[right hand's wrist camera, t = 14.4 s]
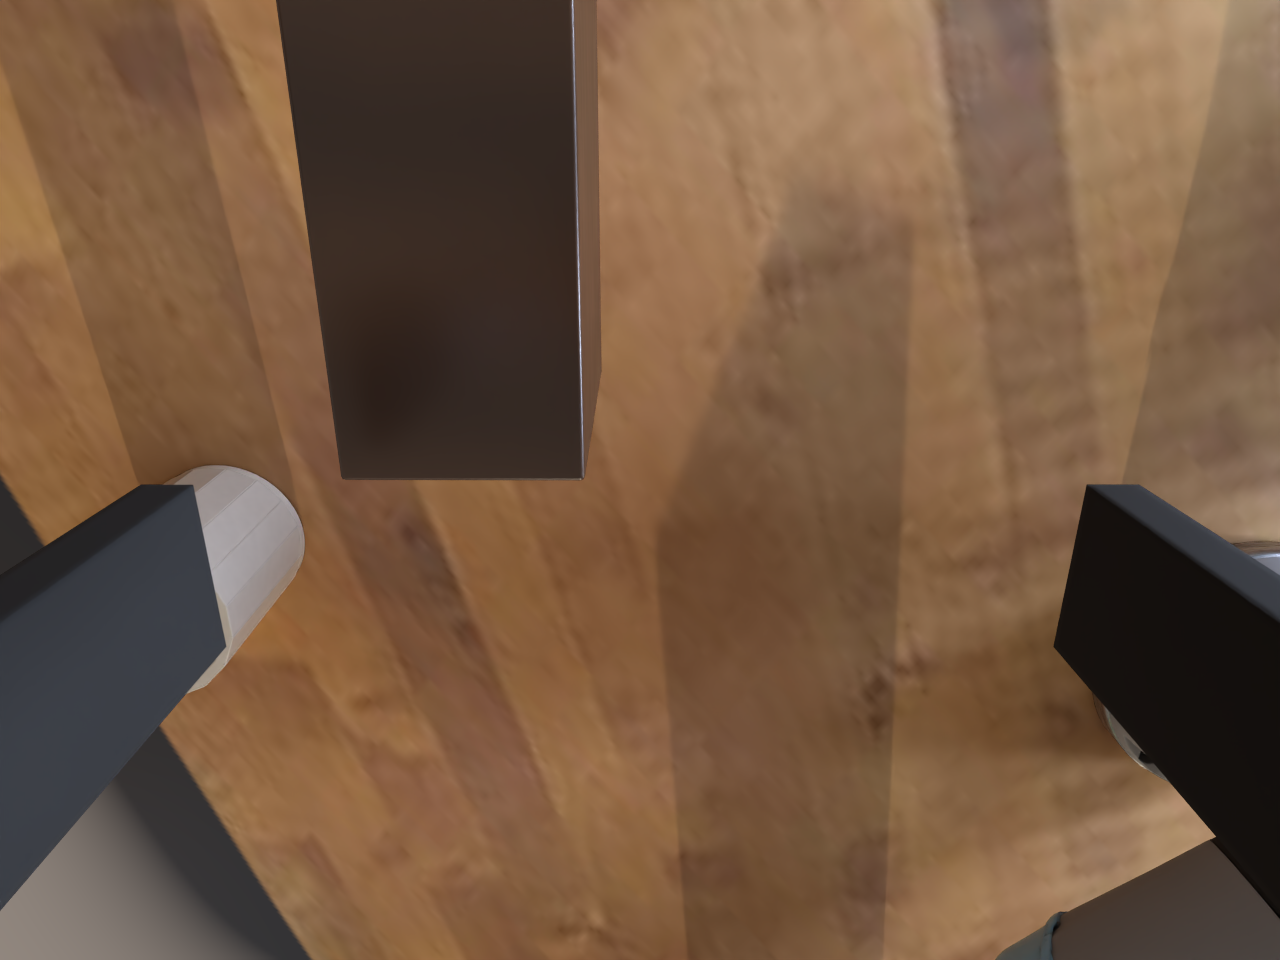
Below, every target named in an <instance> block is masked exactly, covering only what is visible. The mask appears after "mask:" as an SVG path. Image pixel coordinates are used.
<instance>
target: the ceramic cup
mask: <svg viewBox="0 0 1280 960" xmlns="http://www.w3.org/2000/svg"><path fill="white" fill-rule="evenodd" d="M163 485H193V486H194V491H195V496H196V501H197V506H198V510H199V515H200V520H201V525H202V530H203V535H204V540H205V544H206V549H207V554H208V559H209V564H210V569H211V574H212V579H213V583H214V588H215V593H216V598H217V603H218V608H219V613H220V618H221V622H222V627H223V632H224V637H225V642H226V648H225V649H224V650H223V651H222V652H221V654H220V655H219V656H218V657H217V658H216V659H215V661H214V662H213V663H212V664H211V665H210V666H209V668H208V669H207V670H206V671H205V672H204V673H203V675H202V676H201V677H200V678H199V679H198V680H197V682H196V683H195V684H194V685H193V686H192V687H191V689H190V690H189V691H188V692H187V693H189V692H192V691H195V690H197V689H200V688H203V687H205V686H206V685H207V684H208V683H209V682H210V681H211V680H212V679H213V678H214V677H215V676H216V675H217V674H218V673H219V672H220V671H221V670H222V669H223V668H224V667H225V666H226V664H227V663H228V662H229V661H230V659H231V658H232V657H233V655H234V654H235V653H236V652H237V650H238V649H239V648H240V647H241V645H242V644H243V643H244V641H245V640H246V639H247V638H248V636H249V635H250V634H251V633H252V631H253V630H254V629H255V627H256V626H257V625H258V624H259V622H260V621H261V620H262V619H263V617H264V616H265V615H266V613H267V612H268V611H269V610H270V608H271V607H272V606H273V604H274V603H275V602H276V601H277V599H278V598H279V597H280V596H281V594H282V593H283V592H284V590H285V589H286V588H287V587H288V585H289V584H290V583H291V582H292V580H293V579H294V577H295V576H296V573H297V571H298V570H299V568H300V566H301V563H302V560H303V556H304V551H305V538H304V532H303V527H302V524H301V521H300V519H299V516H298V514H297V513H296V511H295V509H294V507H293V506H292V504H291V503H290V502H289V500H288V499H287V498H286V497H285V496H284V495H283V493H282V492H280V491H279V490H278V489H277V488H276V487H275V486H274V485H272V484H271V483H269V482H268V481H267V480H265V479H263V478H261V477H260V476H258V475H256V474H254V473H251V472H249V471H246V470H243V469H240V468H236V467H231V466H223V465H209V466H201V467H196V468H193V469H190V470H187V471H185V472H183V473H181V474H179V475H178V476H176V477H175V478H172V479H170V480H168V481H167V482H165V483H164V484H163ZM187 693H186V694H187Z"/></svg>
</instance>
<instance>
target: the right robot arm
mask: <svg viewBox="0 0 1280 960" xmlns="http://www.w3.org/2000/svg"><path fill="white" fill-rule="evenodd" d="M225 648H226V642H225V637H224V632H223V627H222V622H221V618H220V613H219V608H218V603H217V598H216V593H215V588H214V583H213V579H212V574H211V569H210V564H209V559H208V554H207V549H206V544H205V540H204V535H203V530H202V525H201V520H200V515H199V510H198V506H197V501H196V496H195V491H194V486H193V485H140V486H138V487H137V488H135V489H133V490H132V491H130V492H129V493H127V494H126V495H124V496H123V497H121V498H119V499H118V500H116V501H115V502H113V503H112V504H110V505H109V506H107V507H105V508H104V509H102V510H101V511H99V512H98V513H96V514H95V515H93V516H91V517H90V518H88V519H87V520H85V521H84V522H82V523H81V524H79V525H77V526H76V527H74V528H73V529H71V530H70V531H68V532H67V533H65V534H63V535H62V536H60V537H59V538H57V539H56V540H54V541H53V542H51V543H49V544H48V545H46V546H45V547H43V548H42V549H40V550H39V551H37V552H35V553H34V554H32V555H31V556H29V557H28V558H26V559H25V560H23V561H22V562H20V563H18V564H17V565H15V566H14V567H12V568H11V569H9V570H7V571H6V572H4V573H3V574H1V575H0V910H1V909H2V908H3V907H4V906H5V904H6V903H7V902H8V901H9V900H10V899H11V898H12V896H13V895H14V894H15V893H16V892H17V891H18V889H19V888H20V887H21V886H22V885H23V883H24V882H25V881H26V880H27V879H28V878H29V876H30V875H31V874H32V873H33V872H34V871H35V869H36V868H37V867H38V866H39V865H40V864H41V862H42V861H43V860H44V859H45V858H46V857H47V855H48V854H49V853H50V852H51V851H52V850H53V849H54V847H55V846H56V845H57V844H58V843H59V841H60V840H61V839H62V838H63V837H64V836H65V835H66V833H67V832H68V831H69V830H70V829H71V827H72V826H73V825H74V824H75V823H76V822H77V821H78V819H79V818H80V817H81V816H82V815H83V813H84V812H85V811H86V810H87V809H88V808H89V807H90V805H91V804H92V803H93V802H94V801H95V800H96V798H97V797H98V796H99V795H100V794H101V793H102V791H103V790H104V789H105V788H106V787H107V785H108V784H109V783H110V782H111V781H112V780H113V778H114V777H115V776H116V775H117V774H118V773H119V771H120V770H121V769H122V768H123V767H124V766H125V764H126V763H127V762H128V761H129V760H130V759H131V757H132V756H133V755H134V754H135V753H136V752H137V750H138V749H139V748H140V747H141V746H142V745H143V743H144V742H145V741H146V740H147V739H148V738H149V736H150V735H151V734H152V733H153V732H154V731H155V729H156V728H157V727H158V726H159V725H160V724H161V722H162V721H163V720H164V719H165V718H166V717H167V715H168V714H169V713H170V712H171V711H172V710H173V708H174V707H175V706H176V705H177V704H178V703H179V701H180V700H181V699H182V698H183V697H184V696H185V694H186V693H187V692H188V691H189V690H190V689H191V687H192V686H193V685H194V684H195V683H196V682H197V680H198V679H199V678H200V677H201V676H202V675H203V673H204V672H205V671H206V670H207V669H208V668H209V666H210V665H211V664H212V663H213V662H214V661H215V659H216V658H217V657H218V656H219V655H220V654H221V652H222V651H223V650H224V649H225ZM1054 648H1055V649H1056V650H1057V651H1058V652H1059V654H1060V655H1061V656H1062V657H1063V658H1064V659H1065V661H1066V662H1067V663H1068V664H1069V665H1070V666H1071V668H1072V669H1073V670H1074V671H1075V672H1076V673H1077V675H1078V676H1079V677H1080V678H1081V679H1082V680H1083V682H1084V683H1085V684H1086V685H1087V686H1088V687H1089V689H1090V690H1091V691H1092V694H1093V699H1094V704H1095V707H1096V710H1097V713H1098V715H1099V717H1100V719H1101V721H1102V723H1103V724H1104V726H1105V727H1106V729H1107V730H1108V731H1109V732H1110V734H1111V735H1112V736H1113V737H1114V738H1115V740H1116V741H1117V742H1118V743H1119V745H1120V746H1121V747H1122V748H1123V749H1124V750H1125V752H1126V753H1127V754H1128V755H1129V756H1130V757H1131V758H1132V759H1133V760H1134V761H1135V762H1137V763H1138V764H1139V765H1141V766H1142V767H1144V768H1145V769H1147V770H1149V771H1150V772H1152V773H1154V774H1155V775H1157V776H1159V777H1160V778H1162V779H1164V780H1166V781H1168V782H1169V783H1171V784H1172V785H1173V787H1174V788H1175V789H1176V790H1177V791H1178V793H1179V794H1180V795H1181V796H1182V797H1183V798H1184V800H1185V801H1186V802H1187V803H1188V804H1189V805H1190V807H1191V808H1192V809H1193V810H1194V811H1195V812H1196V814H1197V815H1198V816H1199V817H1200V818H1201V819H1202V821H1203V822H1204V823H1205V824H1206V825H1207V826H1208V828H1209V829H1210V830H1211V831H1212V832H1213V833H1214V835H1215V836H1216V837H1215V838H1213V839H1210V840H1208V841H1206V842H1204V843H1202V844H1200V845H1198V846H1196V847H1194V848H1192V849H1191V850H1189V851H1187V852H1185V853H1183V854H1181V855H1179V856H1177V857H1175V858H1173V859H1171V860H1170V861H1168V862H1166V863H1164V864H1162V865H1160V866H1158V867H1156V868H1154V869H1152V870H1150V871H1148V872H1146V873H1144V874H1142V875H1140V876H1138V877H1136V878H1134V879H1132V880H1130V881H1128V882H1126V883H1124V884H1122V885H1120V886H1118V887H1116V888H1114V889H1112V890H1110V891H1108V892H1106V893H1104V894H1103V895H1101V896H1099V897H1097V898H1095V899H1093V900H1091V901H1089V902H1087V903H1085V904H1083V905H1081V906H1079V907H1077V908H1075V909H1073V910H1071V911H1069V912H1058V913H1056V914H1054V915H1053V916H1052V917H1051V918H1050V919H1049V920H1048V921H1047V923H1046V925H1045V926H1043V927H1042V928H1040V929H1039V930H1037V931H1035V932H1034V933H1032V934H1030V935H1029V936H1027V937H1025V938H1024V939H1022V940H1020V941H1018V942H1017V943H1015V944H1013V945H1012V946H1010V947H1008V948H1007V949H1005V950H1004V951H1003V952H1002V953H1001V954H1000V955H999V956H998V957H997V958H996V959H995V960H1280V542H1266V541H1258V542H1244V543H1237V544H1231V543H1229V542H1227V541H1226V540H1224V539H1223V538H1221V537H1220V536H1218V535H1217V534H1215V533H1213V532H1212V531H1210V530H1209V529H1207V528H1206V527H1204V526H1203V525H1201V524H1199V523H1198V522H1196V521H1195V520H1193V519H1192V518H1190V517H1189V516H1187V515H1185V514H1184V513H1182V512H1181V511H1179V510H1178V509H1176V508H1175V507H1173V506H1171V505H1170V504H1168V503H1167V502H1165V501H1164V500H1162V499H1161V498H1159V497H1157V496H1156V495H1154V494H1153V493H1151V492H1150V491H1148V490H1147V489H1145V488H1143V487H1142V486H1140V485H1087V486H1086V491H1085V496H1084V501H1083V506H1082V510H1081V515H1080V520H1079V525H1078V530H1077V535H1076V540H1075V544H1074V549H1073V554H1072V559H1071V564H1070V569H1069V574H1068V579H1067V583H1066V588H1065V593H1064V598H1063V603H1062V608H1061V613H1060V618H1059V622H1058V627H1057V632H1056V637H1055V642H1054Z"/></svg>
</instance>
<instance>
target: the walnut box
mask: <svg viewBox="0 0 1280 960" xmlns="http://www.w3.org/2000/svg"><path fill="white" fill-rule="evenodd" d="M276 3H277V11H278V18H279V25H280V33H281V40H282V47H283V55H284V62H285V69H286V76H287V84H288V91H289V98H290V106H291V113H292V120H293V127H294V135H295V142H296V149H297V157H298V164H299V171H300V178H301V186H302V193H303V200H304V208H305V215H306V222H307V229H308V237H309V244H310V251H311V259H312V266H313V273H314V280H315V288H316V295H317V302H318V310H319V317H320V324H321V331H322V339H323V346H324V353H325V361H326V368H327V375H328V382H329V390H330V397H331V404H332V412H333V419H334V426H335V434H336V441H337V448H338V455H339V463H340V470H341V476H342V479H345V480H583V479H584V477H585V472H586V466H587V460H588V453H589V447H590V441H591V434H592V428H593V422H594V415H595V409H596V403H597V396H598V390H599V384H600V377H601V296H600V220H599V145H598V69H597V0H276Z"/></svg>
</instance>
